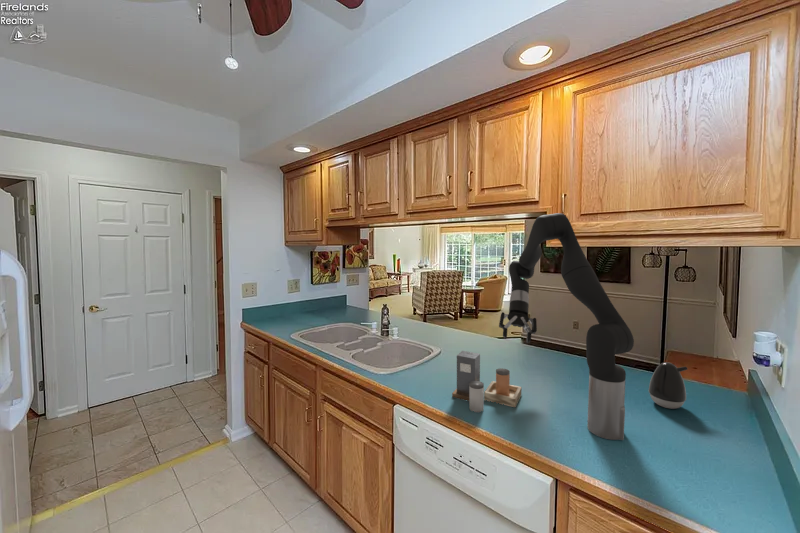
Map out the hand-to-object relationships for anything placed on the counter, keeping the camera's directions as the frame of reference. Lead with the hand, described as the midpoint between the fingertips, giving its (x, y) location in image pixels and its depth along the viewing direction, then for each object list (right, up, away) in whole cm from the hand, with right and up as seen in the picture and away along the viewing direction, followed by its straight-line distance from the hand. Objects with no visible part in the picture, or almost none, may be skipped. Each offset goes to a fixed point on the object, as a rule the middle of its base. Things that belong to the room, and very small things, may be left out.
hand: (516, 340), depth 131 cm
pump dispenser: (+47, -19, -15) cm, 53 cm away
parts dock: (-8, -19, -8) cm, 22 cm away
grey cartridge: (-20, -20, -16) cm, 33 cm away
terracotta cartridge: (-8, -18, -8) cm, 22 cm away
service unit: (-20, -19, -6) cm, 29 cm away
